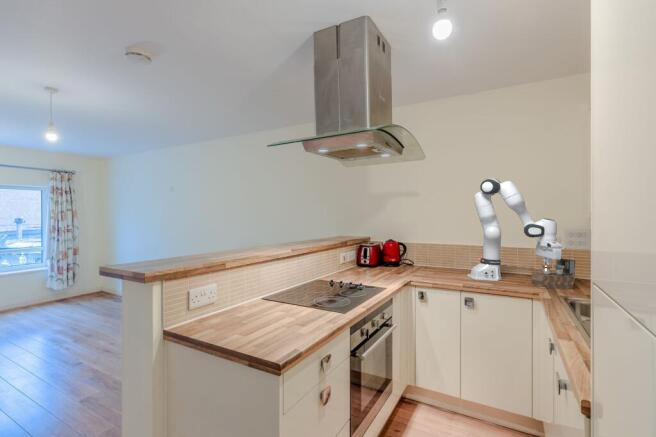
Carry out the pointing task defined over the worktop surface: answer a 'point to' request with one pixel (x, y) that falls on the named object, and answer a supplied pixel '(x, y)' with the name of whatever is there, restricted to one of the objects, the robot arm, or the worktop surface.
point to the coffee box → (567, 266)
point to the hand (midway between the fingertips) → (546, 264)
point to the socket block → (553, 281)
